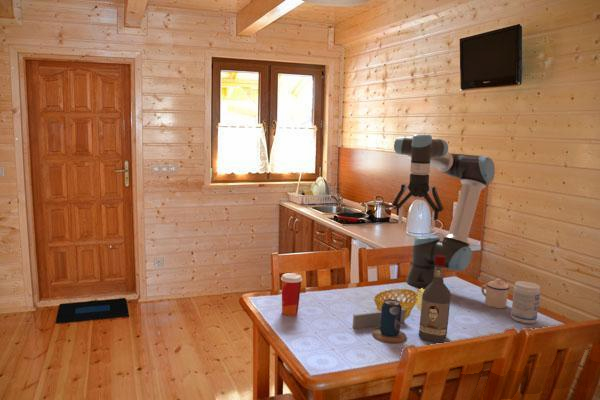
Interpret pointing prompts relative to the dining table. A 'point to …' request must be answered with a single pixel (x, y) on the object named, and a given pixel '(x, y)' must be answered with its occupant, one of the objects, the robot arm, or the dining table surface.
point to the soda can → (390, 318)
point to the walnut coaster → (397, 339)
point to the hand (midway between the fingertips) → (416, 225)
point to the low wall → (371, 319)
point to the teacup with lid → (496, 293)
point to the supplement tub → (525, 302)
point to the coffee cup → (290, 293)
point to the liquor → (435, 306)
